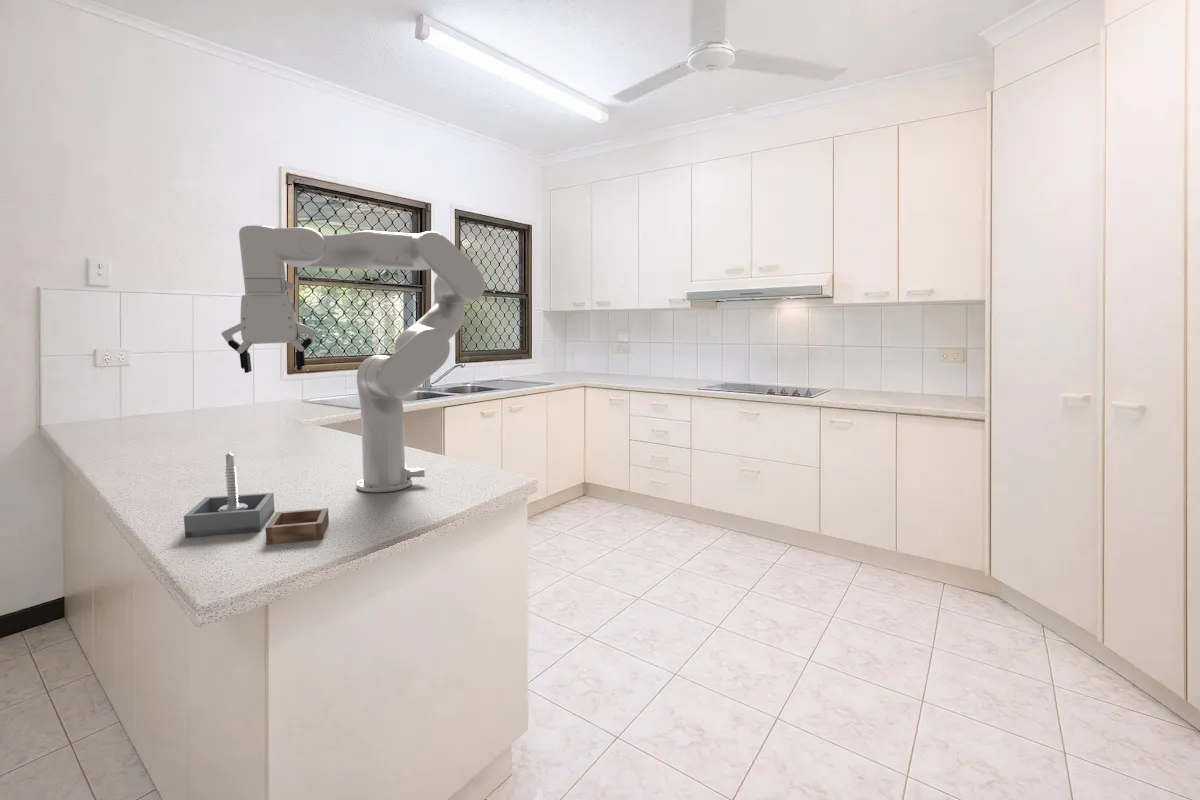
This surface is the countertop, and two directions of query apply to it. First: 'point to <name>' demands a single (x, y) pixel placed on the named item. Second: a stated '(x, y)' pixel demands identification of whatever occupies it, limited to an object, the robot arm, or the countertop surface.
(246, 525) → the bin
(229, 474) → the screw
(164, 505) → the countertop surface
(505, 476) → the countertop surface
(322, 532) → the frame
